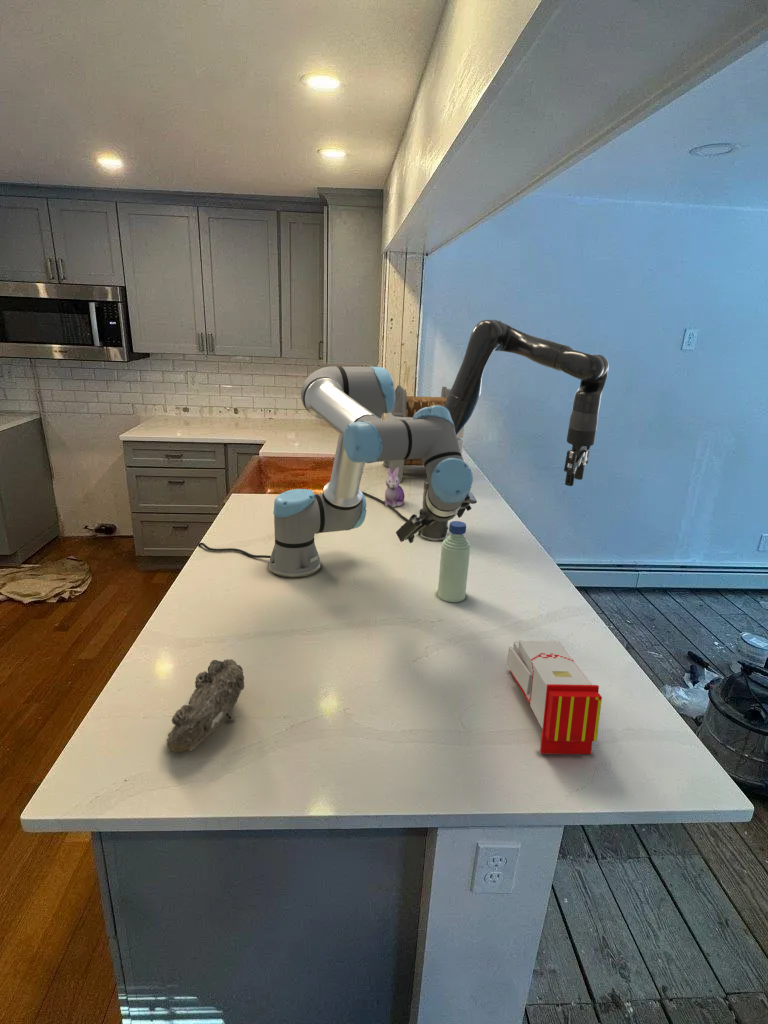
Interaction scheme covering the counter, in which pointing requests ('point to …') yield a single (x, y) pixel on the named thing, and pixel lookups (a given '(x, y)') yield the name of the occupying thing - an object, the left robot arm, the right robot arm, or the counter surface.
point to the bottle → (453, 568)
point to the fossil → (206, 705)
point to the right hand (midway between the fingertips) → (573, 482)
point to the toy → (557, 696)
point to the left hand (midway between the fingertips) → (433, 525)
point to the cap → (457, 527)
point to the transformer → (405, 411)
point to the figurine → (393, 489)
